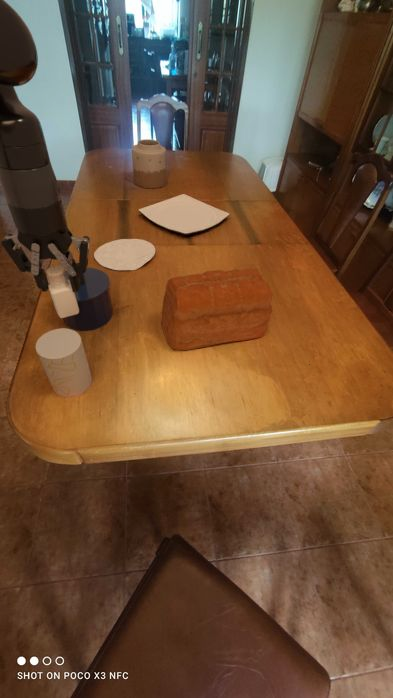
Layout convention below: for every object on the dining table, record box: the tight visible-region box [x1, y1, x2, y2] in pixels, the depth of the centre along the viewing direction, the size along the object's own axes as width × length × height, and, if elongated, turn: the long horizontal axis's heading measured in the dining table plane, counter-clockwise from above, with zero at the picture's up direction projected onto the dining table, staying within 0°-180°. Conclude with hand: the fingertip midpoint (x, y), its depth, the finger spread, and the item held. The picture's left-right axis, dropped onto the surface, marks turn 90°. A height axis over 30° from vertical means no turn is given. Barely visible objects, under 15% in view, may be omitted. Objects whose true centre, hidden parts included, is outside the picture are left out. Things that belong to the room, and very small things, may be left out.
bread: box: [160, 268, 274, 351], centre depth 78 cm, size 14×27×15 cm, turn 106°
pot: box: [61, 287, 114, 332], centre depth 81 cm, size 13×13×10 cm
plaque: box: [93, 238, 156, 271], centre depth 105 cm, size 20×20×2 cm
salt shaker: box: [45, 264, 79, 319], centre depth 60 cm, size 4×4×10 cm
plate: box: [138, 193, 230, 236], centre depth 126 cm, size 29×29×3 cm
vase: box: [131, 138, 167, 190], centre depth 145 cm, size 15×15×17 cm
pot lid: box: [65, 266, 111, 302], centre depth 76 cm, size 14×14×6 cm
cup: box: [35, 327, 93, 398], centre depth 64 cm, size 8×8×12 cm
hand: (61, 289), depth 59 cm, fingers closed on salt shaker, 5 cm apart
